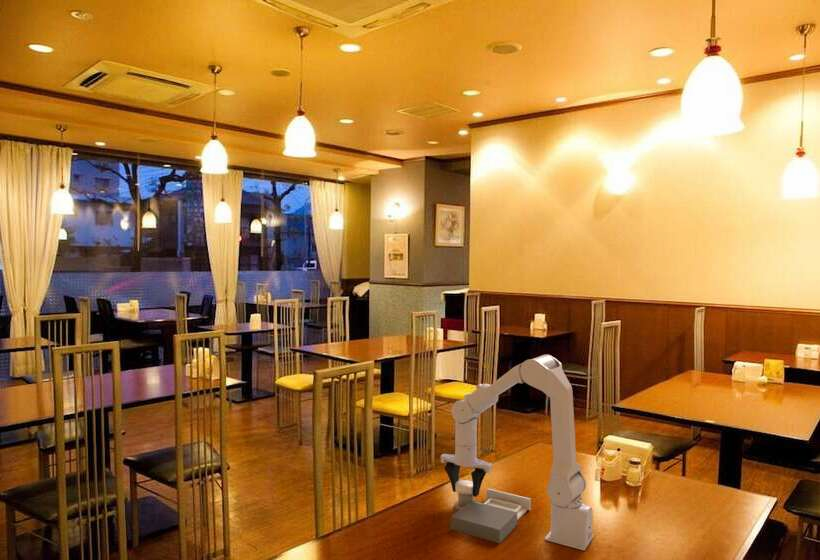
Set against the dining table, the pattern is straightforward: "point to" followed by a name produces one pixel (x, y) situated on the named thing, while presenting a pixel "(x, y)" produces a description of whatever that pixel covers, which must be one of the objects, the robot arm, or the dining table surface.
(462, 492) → the beige rounded shape
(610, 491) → the dining table surface
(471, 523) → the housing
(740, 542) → the dining table surface
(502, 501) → the tray
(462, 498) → the grey cup
